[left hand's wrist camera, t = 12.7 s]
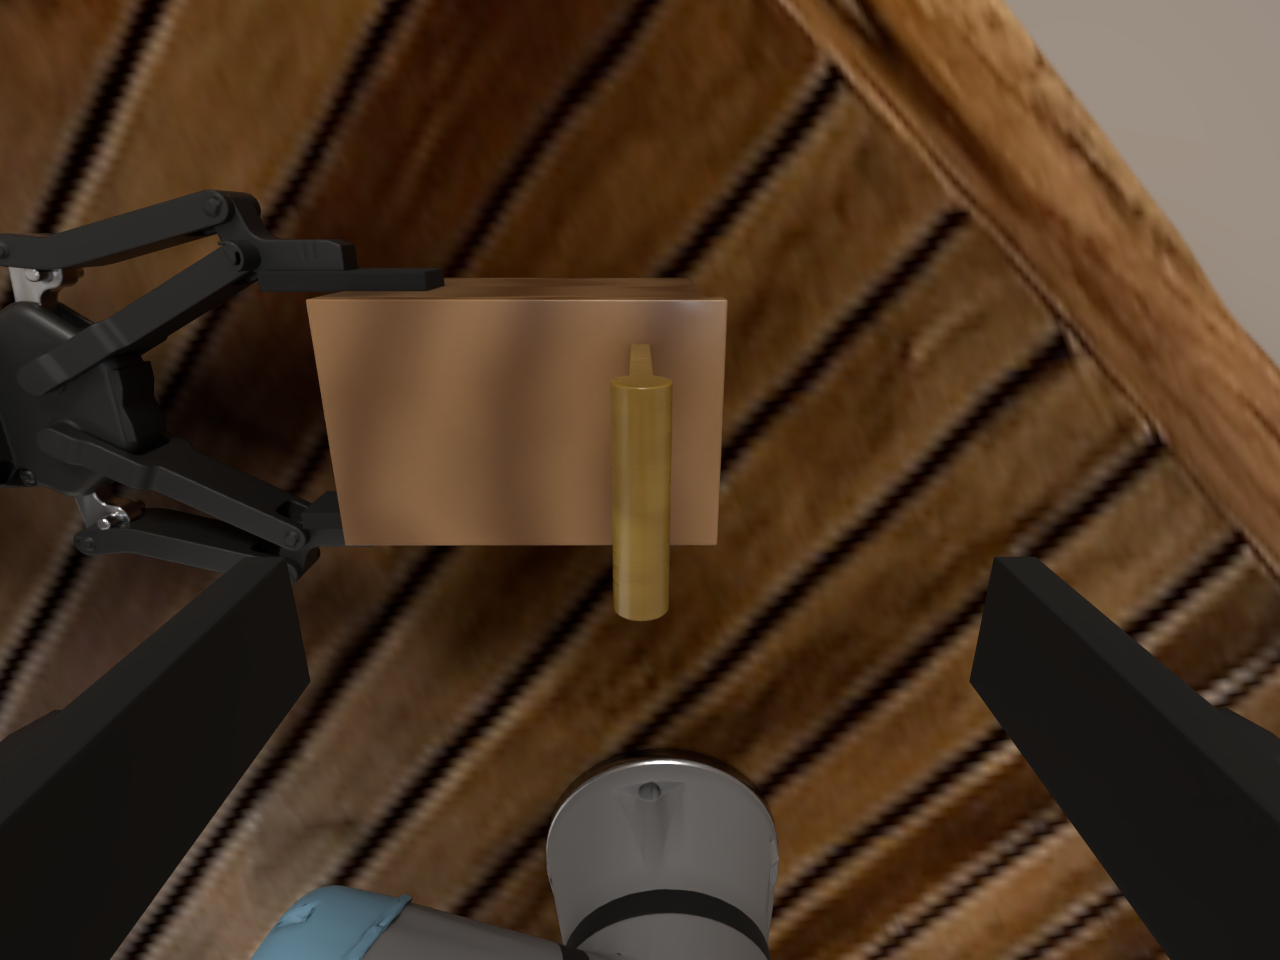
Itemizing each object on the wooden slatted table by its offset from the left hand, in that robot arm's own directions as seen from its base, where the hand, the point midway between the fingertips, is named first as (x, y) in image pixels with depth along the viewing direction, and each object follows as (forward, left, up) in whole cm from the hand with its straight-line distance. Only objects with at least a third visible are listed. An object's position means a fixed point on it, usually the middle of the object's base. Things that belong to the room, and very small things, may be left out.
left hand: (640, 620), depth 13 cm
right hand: (-5, +7, -18) cm, 20 cm away
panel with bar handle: (-3, +3, -14) cm, 15 cm away
